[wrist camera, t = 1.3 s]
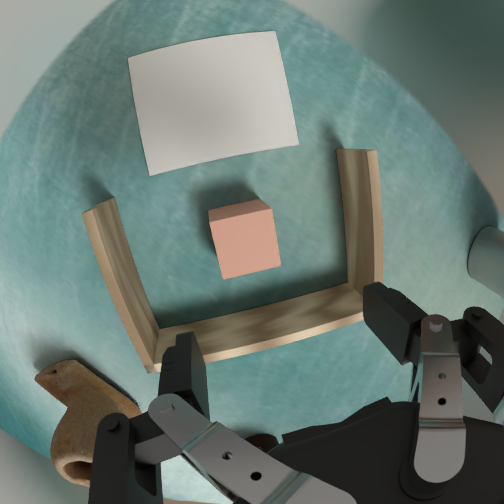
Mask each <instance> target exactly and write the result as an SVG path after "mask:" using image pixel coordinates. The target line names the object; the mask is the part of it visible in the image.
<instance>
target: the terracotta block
mask: <svg viewBox="0 0 504 504" xmlns="http://www.w3.org/2000/svg"><path fill="white" fill-rule="evenodd" d="M208 214H209V223H210V227H211V232H212V236H213V240H214V244H215V248H216V252H217V256H218V260H219V264H220V268H221V272H222V276H223V280H224V279H228V278H232V277H236V276H241V275H245V274H249V273H253V272H257V271H261V270H265V269H269V268H274V267H278V266H281V261H280V255H279V249H278V243H277V237H276V231H275V225H274V219H273V213H272V208H271V207H269V206H268V205H267V204H266V203H265V202H263V201H262V200H261V199H256V200H251V201H247V202H242V203H237V204H233V205H228V206H224V207H220V208H215V209H211V210H208Z"/></svg>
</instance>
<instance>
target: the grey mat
mask: <svg viewBox="0 0 504 504" xmlns="http://www.w3.org/2000/svg"><path fill="white" fill-rule="evenodd" d="M128 63H129V70H130V77H131V84H132V90H133V96H134V102H135V107H136V113H137V118H138V124H139V129H140V134H141V139H142V144H143V148H144V153H145V158H146V162H147V166H148V171H149V175H150V176H152V175H156V174H159V173H163V172H167V171H171V170H175V169H179V168H183V167H187V166H191V165H195V164H199V163H203V162H208V161H212V160H217V159H221V158H226V157H231V156H236V155H241V154H246V153H252V152H257V151H263V150H268V149H274V148H280V147H287V146H293V145H299V143H298V137H297V131H296V126H295V121H294V115H293V110H292V105H291V100H290V95H289V90H288V85H287V81H286V76H285V71H284V67H283V63H282V58H281V54H280V50H279V45H278V41H277V37H276V33H275V31H267V32H253V33H243V34H234V35H226V36H219V37H213V38H207V39H201V40H196V41H191V42H186V43H181V44H177V45H172V46H168V47H164V48H160V49H157V50H153V51H149V52H146V53H142V54H139V55H136V56H133V57H129V58H128Z"/></svg>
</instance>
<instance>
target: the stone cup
mask: <svg viewBox="0 0 504 504" xmlns="http://www.w3.org/2000/svg"><path fill="white" fill-rule="evenodd" d="M35 381H36V382H37V383H38V384H39V385H41V386H42V387H43V388H44V389H46V390H47V391H48V392H49V393H50V394H51V395H53V396H54V397H55V398H56V399H57V400H59V401H60V402H61V403H63V404H64V405H65V406H67V407H68V408H67V411H66V413H65V414H64V416H63V417H62V419H61V420H60V422H59V424H58V426H57V428H56V430H55V432H54V435H53V438H52V442H51V448H50V453H51V458H52V462H53V464H54V466H55V468H56V470H57V471H58V472H59V473H60V474H61V475H62V476H63V477H64V478H65V479H67V480H68V481H70V482H73V483H76V484H80V485H85V486H87V487H89V488H90V478H91V469H92V461H93V453H94V446H95V440H96V434H97V428H98V424H99V422H100V421H101V420H102V418H104V417H105V416H106V415H108V414H111V413H116V412H118V413H123V414H125V415H126V416H127V417H128V418H132V417H135V416H138V415H140V414H142V413H141V410H140V409H139V407H138V406H137V405H136V404H134V403H133V402H132V401H131V400H130V399H129V398H127V397H126V396H125V395H123V394H122V393H121V392H119V391H118V390H116V389H115V388H113V387H112V386H110V385H109V384H108V383H106V382H105V381H104V380H102V379H101V378H99V377H98V376H97V375H95V374H94V373H92V372H91V371H90V370H89V369H87V368H86V367H85V366H83V365H82V364H81V363H79V362H78V361H76V360H65V361H62V362H58V363H57V364H54V365H51V366H49V367H47V368H46V369H43V370H42V371H41V372H40V373H39V374H37V375H36V377H35Z"/></svg>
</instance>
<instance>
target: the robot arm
mask: <svg viewBox="0 0 504 504" xmlns="http://www.w3.org/2000/svg"><path fill="white" fill-rule="evenodd" d="M468 271H469V274H470V276H471V277H472V278H473V279H475V280H476V281H478V282H480V283H481V284H483V285H484V286H486V287H487V288H489V289H491V290H492V291H494V292H495V293H497V294H498V295H500V296H501V297H503V298H504V232H503V231H501V230H498V229H496V228H494V227H491V226H487V227H485V228H483V229H482V230H481V231H480V232H479V233H478V235H477V236H476V238H475V240H474V242H473V245H472V247H471V250H470V254H469V259H468ZM363 318H364V321H365V323H366V324H367V326H368V327H369V328H370V329H371V330H372V331H373V333H374V334H375V335H376V336H377V337H378V338H379V339H380V341H381V342H382V343H383V344H384V345H385V346H386V347H387V349H388V350H389V351H390V352H391V353H392V354H393V356H394V357H395V358H396V359H397V360H398V361H399V363H400V364H401V365H404V364H406V363H409V362H412V363H413V365H412V371H411V381H410V391H409V399H408V402H407V401H402V402H393V403H391V401H390V400H389V398H388V397H385V398H383V399H381V400H378V401H376V402H374V403H371V404H369V405H367V406H364V407H363V408H361V409H360V410H358V411H357V412H355V413H354V414H353V415H351V416H350V417H348V418H347V419H345V420H344V421H342V422H339V423H334V424H327V425H319V426H310V427H307V428H303V429H300V430H297V431H293V432H290V433H286V434H283V435H282V438H283V442H282V443H281V444H279V445H277V446H275V447H274V448H272V449H271V450H270V451H269V452H267V453H264V452H263V451H261V450H260V449H258V448H256V447H255V446H253V445H252V444H250V443H249V442H247V441H246V440H244V439H243V438H241V437H240V436H238V435H237V434H235V433H234V432H233V431H231V430H230V429H228V428H227V427H225V426H224V425H223V424H221V423H219V422H217V421H216V422H214V423H212V422H211V421H210V414H209V403H208V390H207V376H206V366H205V362H204V358H203V355H202V353H201V350H200V347H199V345H198V342H197V339H196V337H195V334H194V332H193V331H189V332H185V333H180V334H176V342H175V346H171V347H168V348H167V349H166V351H165V352H164V354H163V355H162V363H161V364H162V365H161V372H160V380H159V389H158V397H157V398H155V399H154V400H153V401H152V402H151V403H150V405H149V408H148V411H147V412H145V413H143V414H140V415H138V416H135V417H132V418H128V417H127V416H126V415H125V414H123V413H118V412H116V413H111V414H108V415H106V416H105V417H104V418H102V420H101V421H100V422H99V424H98V428H97V434H96V440H95V446H94V453H93V461H92V469H91V478H90V489H89V501H88V504H163V494H162V481H161V463H160V462H163V461H165V460H168V459H171V458H173V457H176V456H178V455H180V456H181V457H182V458H183V459H184V460H185V461H186V462H188V463H189V464H190V465H191V466H192V467H193V468H194V469H195V470H196V471H197V472H198V473H200V474H201V475H202V476H203V477H204V478H205V479H206V480H208V481H209V482H210V483H211V484H212V485H213V486H214V487H215V488H216V489H217V490H218V491H220V492H221V493H222V494H223V495H224V496H226V497H227V498H228V499H230V500H231V501H232V502H234V503H233V504H504V325H503V324H502V323H501V322H500V321H499V320H497V319H496V318H495V317H494V316H493V315H491V314H490V313H489V312H488V311H486V310H485V309H483V308H481V307H469V308H467V309H466V310H465V311H464V314H463V319H458V320H453V321H449V320H448V319H447V318H446V317H444V316H442V315H438V314H432V315H428V314H427V313H425V312H424V311H423V310H422V309H421V308H419V307H418V306H417V305H416V304H415V303H413V302H411V300H410V299H408V298H406V296H405V295H403V294H402V293H401V292H400V291H397V290H395V289H392V288H387V287H386V286H385V285H383V284H382V283H381V282H379V281H377V282H374V283H371V284H368V285H365V286H364V288H363ZM481 346H482V347H483V348H484V349H485V350H486V351H487V352H488V353H489V354H490V355H491V357H492V365H491V364H490V363H489V362H488V361H487V360H486V359H485V358H484V357H483V356H482V355H481V354H480V353H479V351H480V349H481ZM461 376H462V377H463V378H464V379H465V380H466V382H467V383H468V384H469V385H470V386H471V388H472V389H473V390H474V391H475V392H476V394H478V396H479V397H480V398H481V399H482V401H483V402H484V403H485V405H486V406H487V407H488V408H489V409H490V411H491V412H492V413H493V418H494V422H495V423H493V422H488V421H484V420H479V419H475V418H471V417H467V416H463V401H462V378H461Z"/></svg>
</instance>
